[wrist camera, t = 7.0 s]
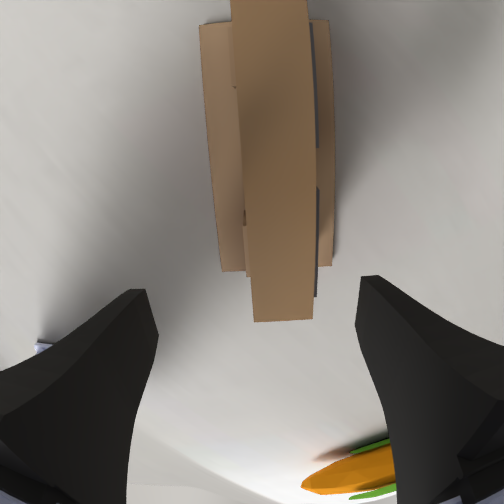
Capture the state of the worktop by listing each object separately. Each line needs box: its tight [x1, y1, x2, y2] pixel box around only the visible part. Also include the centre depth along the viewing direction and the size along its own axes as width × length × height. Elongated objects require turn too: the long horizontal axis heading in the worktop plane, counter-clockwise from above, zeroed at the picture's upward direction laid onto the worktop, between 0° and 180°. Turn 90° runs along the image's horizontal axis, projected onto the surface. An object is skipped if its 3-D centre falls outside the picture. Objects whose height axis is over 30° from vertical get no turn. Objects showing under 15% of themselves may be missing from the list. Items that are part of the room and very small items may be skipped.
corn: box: [301, 438, 396, 500], centre depth 29 cm, size 7×8×20 cm
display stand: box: [199, 20, 335, 277], centre depth 16 cm, size 7×15×3 cm, turn 4°
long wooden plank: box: [230, 0, 320, 322], centre depth 13 cm, size 3×13×4 cm, turn 4°
